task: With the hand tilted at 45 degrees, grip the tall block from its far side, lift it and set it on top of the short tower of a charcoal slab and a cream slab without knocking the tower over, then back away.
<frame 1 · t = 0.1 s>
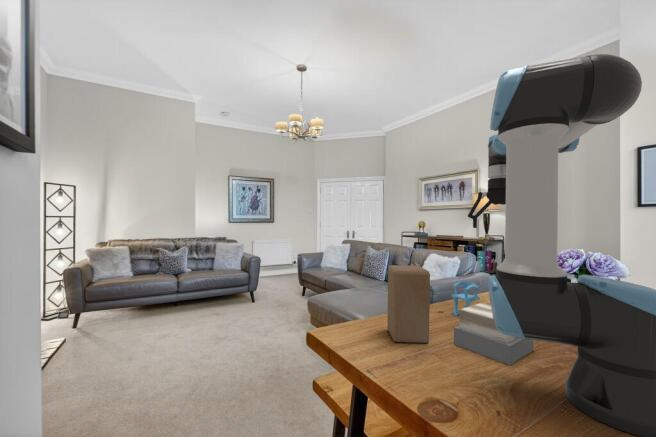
hand: (499, 238, 103), 28 cm above the table, tool pointing down, fingers open, 13 cm apart
chair: (465, 316, 104), on the table
tower base: (492, 348, 78), on the table, touching tower top
block: (407, 337, 84), on the table
tower top: (492, 330, 78), point 4 cm above the table, touching tower base
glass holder: (556, 320, 100), on the table
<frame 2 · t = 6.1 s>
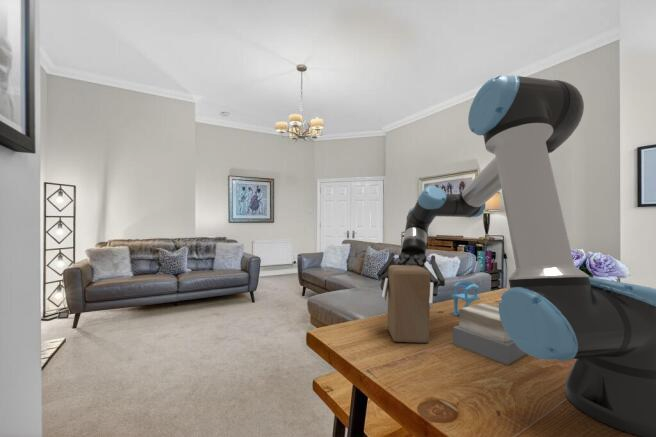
hand: (406, 302, 82), 11 cm above the table, tool tilted 45°, fingers closed on block, 12 cm apart
block: (407, 337, 84), on the table, touching gripper
when the fingers open (22 cm above the table, at t = 12.5 s): block drops 2 cm, resting on tower top.
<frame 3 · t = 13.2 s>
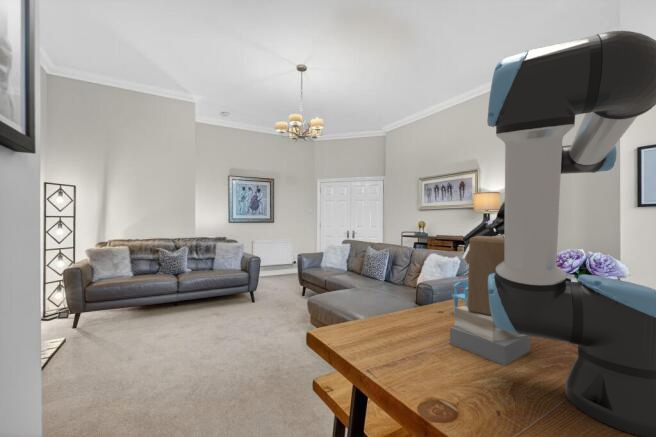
hand: (489, 264, 77), 22 cm above the table, tool tilted 45°, fingers open, 13 cm apart
block: (490, 311, 78), point 9 cm above the table, touching gripper, tower top
tower top: (488, 330, 78), point 4 cm above the table, touching block, tower base
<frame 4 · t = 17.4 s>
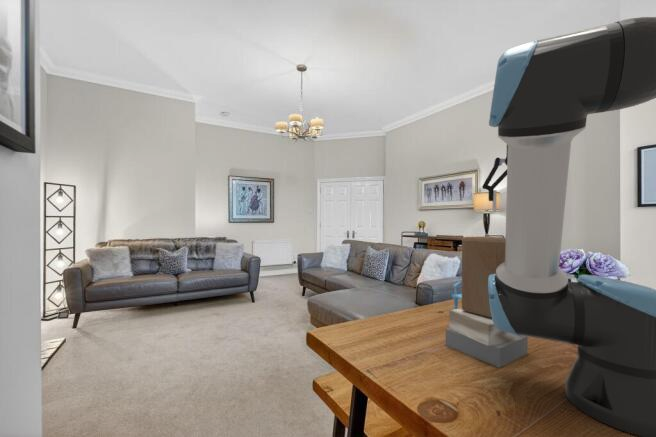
hand: (520, 212, 86), 37 cm above the table, tool pointing down, fingers open, 13 cm apart
tower base: (485, 351, 76), on the table, touching tower top
block: (488, 313, 77), point 9 cm above the table, touching tower top
tower top: (484, 333, 76), point 4 cm above the table, touching block, tower base
everything else where it was.
at the end: block inside the target area on the tower top (1.9 cm from its centre), point 4.8 cm above the tower top's base; tower top 0.9 cm off-centre on the tower base, point 5.1 cm above the tower base's base; block tilted 1° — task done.
